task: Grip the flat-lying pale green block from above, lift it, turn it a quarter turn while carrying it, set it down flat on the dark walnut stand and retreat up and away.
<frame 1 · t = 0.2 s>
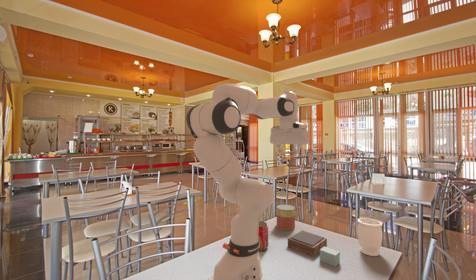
hand: (288, 153, 111), 47 cm above the table, tool pointing down, fingers open, 8 cm apart
beverage can: (260, 247, 113), on the table
pale green block: (329, 261, 100), on the table
walnut stand: (307, 246, 114), on the table
canned food: (285, 226, 140), on the table
jar: (369, 252, 109), on the table
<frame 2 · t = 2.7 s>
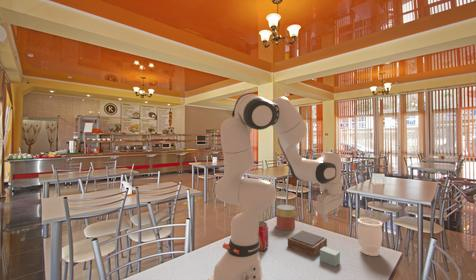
hand: (330, 219, 100), 19 cm above the table, tool pointing down, fingers open, 8 cm apart
nothing on the table moved.
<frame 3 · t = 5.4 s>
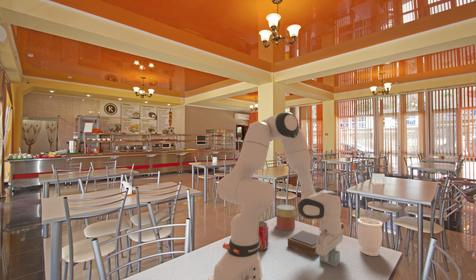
hand: (329, 257, 100), 2 cm above the table, tool pointing down, fingers closed on pale green block, 4 cm apart
pale green block: (329, 261, 100), on the table, touching gripper
everything else where it was.
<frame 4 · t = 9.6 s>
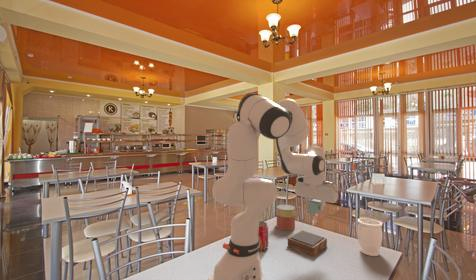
hand: (314, 208, 109), 21 cm above the table, tool pointing down, fingers closed on pale green block, 4 cm apart
pale green block: (314, 211, 109), point 20 cm above the table, touching gripper
everything else where it was.
when the fingers open (8 cm above the table, at t = 13.8 s): pale green block drops 1 cm, resting on walnut stand.
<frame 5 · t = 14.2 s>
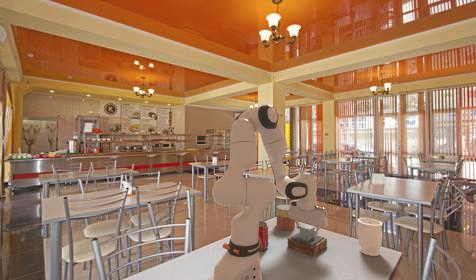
hand: (307, 231, 114), 8 cm above the table, tool pointing down, fingers open, 8 cm apart
pale green block: (307, 237, 114), point 4 cm above the table, touching walnut stand
everything else where it was.
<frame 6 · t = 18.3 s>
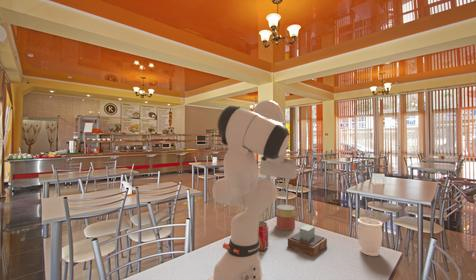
hand: (277, 185, 113), 31 cm above the table, tool pointing down, fingers open, 8 cm apart
nothing on the table moved.
at the end: pale green block inside the target area on the walnut stand (0.1 cm from its centre), point 4.5 cm above the walnut stand's base; pale green block tilted 0°; the gripper is holding nothing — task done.
